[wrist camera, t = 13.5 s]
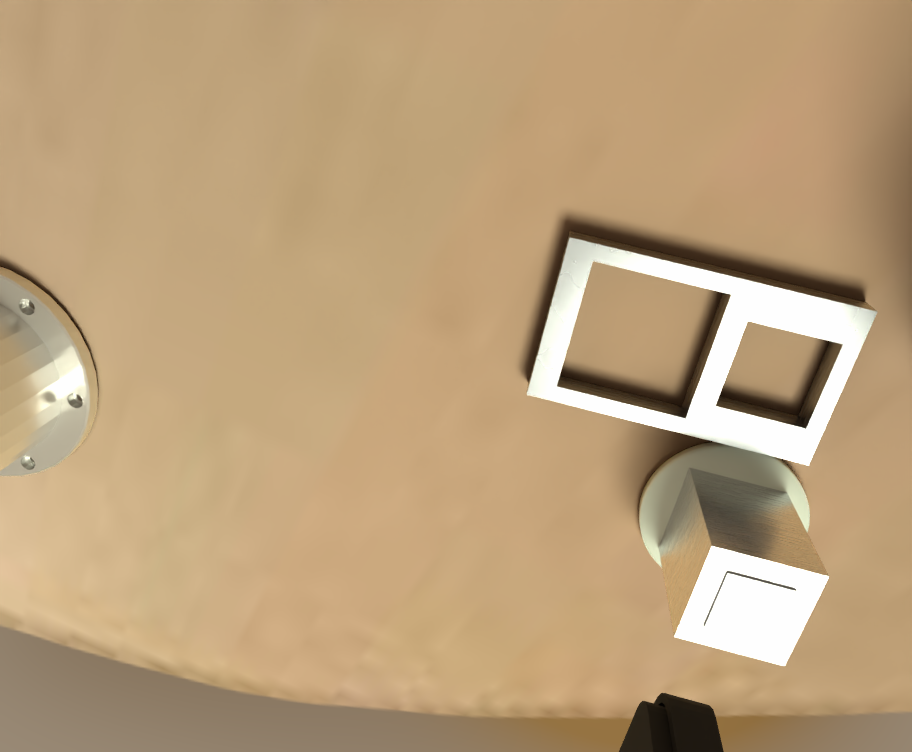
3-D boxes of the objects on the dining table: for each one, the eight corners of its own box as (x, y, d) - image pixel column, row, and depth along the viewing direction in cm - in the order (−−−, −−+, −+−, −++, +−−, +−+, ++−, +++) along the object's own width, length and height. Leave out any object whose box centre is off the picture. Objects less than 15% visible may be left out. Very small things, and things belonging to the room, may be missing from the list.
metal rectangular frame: (528, 383, 40) (526, 394, 39) (569, 230, 37) (569, 237, 35) (800, 451, 39) (808, 465, 38) (865, 302, 36) (877, 311, 35)
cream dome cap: (619, 557, 43) (620, 565, 42) (667, 423, 40) (668, 430, 39) (770, 596, 43) (773, 605, 42) (831, 464, 39) (836, 472, 39)
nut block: (689, 467, 40) (712, 548, 33) (787, 492, 39) (830, 578, 33) (658, 547, 42) (674, 638, 35) (751, 571, 41) (785, 668, 35)
